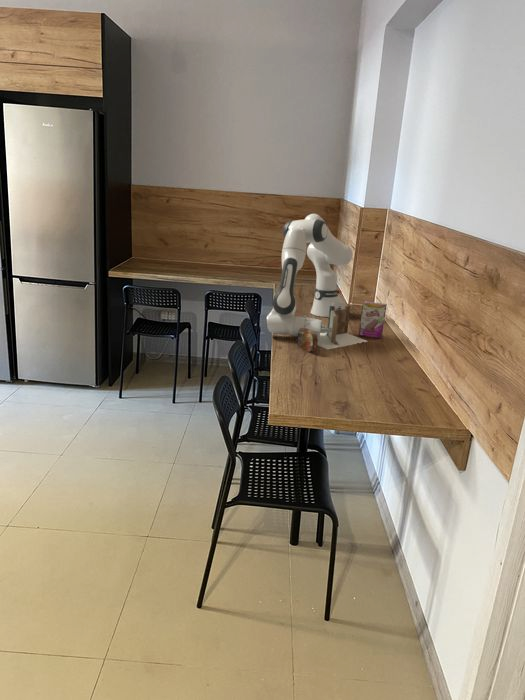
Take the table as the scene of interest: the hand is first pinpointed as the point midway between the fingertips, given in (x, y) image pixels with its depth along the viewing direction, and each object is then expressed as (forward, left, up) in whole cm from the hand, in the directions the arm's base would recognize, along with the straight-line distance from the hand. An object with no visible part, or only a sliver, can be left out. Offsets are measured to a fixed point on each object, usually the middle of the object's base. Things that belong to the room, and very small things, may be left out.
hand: (331, 330), depth 242 cm
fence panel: (-2, -1, -5) cm, 5 cm away
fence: (-12, -8, -5) cm, 15 cm away
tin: (+16, +2, -6) cm, 17 cm away
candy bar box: (-26, +1, -6) cm, 27 cm away
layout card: (-4, -3, -6) cm, 8 cm away
